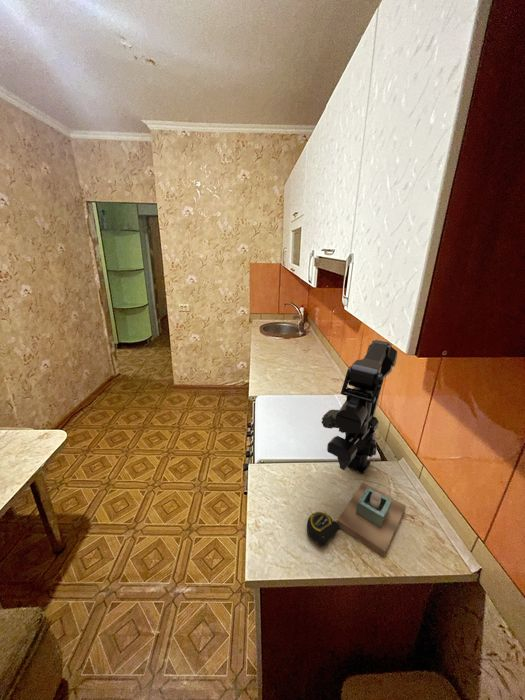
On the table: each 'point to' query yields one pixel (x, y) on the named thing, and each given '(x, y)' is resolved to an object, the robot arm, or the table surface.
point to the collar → (370, 512)
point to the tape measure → (321, 528)
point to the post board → (365, 529)
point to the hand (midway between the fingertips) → (350, 459)
